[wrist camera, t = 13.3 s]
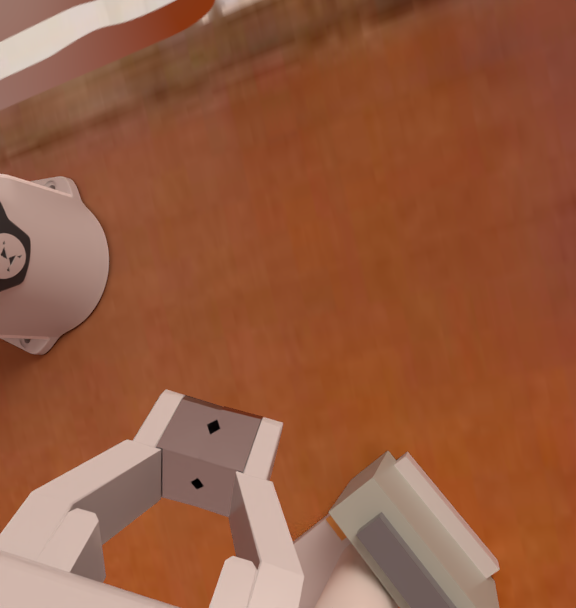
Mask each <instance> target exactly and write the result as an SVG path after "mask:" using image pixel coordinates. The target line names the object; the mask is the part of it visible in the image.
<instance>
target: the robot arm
mask: <svg viewBox="0 0 576 608" xmlns="http://www.w3.org/2000/svg"><path fill="white" fill-rule="evenodd" d="M108 270H109V252H108V245H107V241H106V237H105V234H104V231H103V229H102V227H101V225H100V223H99V222H98V220H97V219H96V217H95V216H94V215H93V214H92V213H91V212H90V210H89V209H88V208H87V207H86V206H85V205H84V204H83V202H82V201H81V198H80V195H79V192H78V189H77V187H76V185H75V183H74V181H73V180H72V179H70V178H66V177H62V176H59V177H53V178H47V179H41V180H35V181H26V180H23V179H19V178H16V177H13V176H10V175H5V174H0V338H1V339H3V340H5V341H7V342H9V343H11V344H13V345H15V346H17V347H19V348H21V349H23V350H25V351H27V352H29V353H31V354H36V355H43V354H45V353H47V352H48V351H49V350H50V349H51V347H52V346H53V345H54V344H55V342H56V341H57V340H58V338H59V337H60V336H61V335H63V334H64V333H66V332H67V331H69V330H71V329H73V328H75V327H76V326H78V325H79V324H80V323H82V322H83V321H84V320H85V319H86V318H87V317H88V316H89V315H90V314H91V312H92V311H93V310H94V308H95V307H96V305H97V304H98V302H99V300H100V298H101V296H102V293H103V291H104V288H105V285H106V281H107V276H108ZM30 339H31V340H30ZM282 428H283V423H282V422H279V421H275V420H272V419H268V418H265V417H262V416H259V415H255V414H251V413H247V412H244V411H240V410H236V409H233V408H229V407H225V406H224V407H222V406H219V405H216V404H213V403H209V402H206V401H203V400H200V399H197V398H193V397H190V396H187V395H183V394H180V393H176V392H173V391H170V390H165V391H164V392H163V393H162V394H161V395H160V397H159V398H158V400H157V401H156V403H155V405H154V406H153V408H152V410H151V411H150V413H149V415H148V416H147V418H146V420H145V421H144V423H143V425H142V426H141V428H140V430H139V431H138V433H137V435H136V436H135V438H134V439H133V441H131V440H128V439H127V440H125V441H123V442H121V443H119V444H117V445H116V446H114V447H112V448H110V449H108V450H107V451H105V452H103V453H101V454H99V455H97V456H96V457H94V458H92V459H90V460H88V461H87V462H85V463H83V464H81V465H79V466H78V467H76V468H74V469H72V470H70V471H68V472H67V473H65V474H63V475H61V476H59V477H58V478H56V479H54V480H52V481H50V482H48V483H47V484H45V485H43V486H41V487H39V488H38V489H36V490H34V491H32V492H31V493H30V495H29V496H28V497H27V499H26V500H25V501H24V503H23V504H22V506H21V507H20V508H19V510H18V511H17V512H16V514H15V515H14V516H13V518H12V519H11V520H10V522H9V523H8V524H7V526H6V527H5V528H4V530H3V531H2V532H1V534H0V608H180V607H177V606H173V605H170V604H167V603H164V602H161V601H158V600H155V599H152V598H149V597H145V596H142V595H139V594H136V593H133V592H130V591H127V590H124V589H120V588H117V587H114V586H111V585H108V584H105V583H103V581H104V579H105V577H106V574H105V566H104V558H103V551H102V545H103V544H104V543H105V542H107V541H108V540H109V539H111V538H112V537H113V536H114V535H116V534H117V533H118V532H120V531H121V530H122V529H123V528H125V527H126V526H127V525H128V524H130V523H131V522H132V521H134V520H135V519H136V518H137V517H139V516H140V515H141V514H143V513H144V512H145V511H146V510H148V509H149V508H150V507H152V506H153V505H154V504H155V503H157V502H158V501H159V500H160V499H161V497H163V498H167V499H171V500H175V501H178V502H182V503H186V504H189V505H193V506H196V507H199V508H202V509H206V510H209V511H212V512H215V513H218V514H221V515H224V516H227V517H229V523H230V528H231V533H232V538H233V543H234V548H235V553H236V557H235V556H232V557H230V558H228V559H227V560H225V563H224V566H223V569H222V571H221V574H220V577H219V580H218V583H217V586H216V589H215V592H214V595H213V598H212V601H211V604H210V606H209V608H298V607H299V602H300V596H301V591H302V585H303V580H304V574H303V571H302V568H301V565H300V562H299V559H298V556H297V553H296V550H295V547H294V544H293V541H292V538H291V535H290V532H289V530H288V527H287V524H286V521H285V518H284V515H283V512H282V509H281V506H280V503H279V500H278V497H277V494H276V491H275V488H274V485H273V482H271V481H270V477H271V474H272V470H273V466H274V462H275V458H276V453H277V449H278V445H279V441H280V436H281V432H282Z"/></svg>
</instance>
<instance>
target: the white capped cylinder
mask: <svg viewBox="0 0 576 608" xmlns="http://www.w3.org/2000/svg"><path fill="white" fill-rule="evenodd" d="M314 608H398V605H397V603H396V602H395V601H394V599H393V598H392V597H391V595H390V594H389V593H388V591H387V590H386V589H385V587H384V586H383V585H382V583H381V582H380V581H379V579H378V578H377V577H376V575H375V574H374V573H373V571H372V570H371V569H370V567H369V566H368V565H367V563H366V562H365V561H364V559H363V558H362V557H361V555H360V554H359V553H358V551H357V550H356V549H355V547H354V546H353V545H352V543H350V544H349V545H348V546H347V547H346V548H345V549H344V551H343V552H342V554H341V556H340V558H339V560H338V562H337V564H336V566H335V568H334V570H333V572H332V574H331V576H330V578H329V580H328V582H327V584H326V586H325V588H324V590H323V592H322V594H321V596H320V598H319V600H318V602H317V603H316V605H315V607H314Z"/></svg>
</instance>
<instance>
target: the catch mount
mask: <svg viewBox="0 0 576 608" xmlns="http://www.w3.org/2000/svg"><path fill="white" fill-rule="evenodd" d="M350 543H352V545H353V546H354V547H355V549H356V550H357V551H358V553H359V554H360V555H361V557H362V558H363V559H364V561H365V562H366V563H367V565H368V566H369V567H370V569H371V570H372V571H373V573H374V574H375V575H376V577H377V578H378V579H379V581H380V582H381V583H382V585H383V586H384V587H385V589H386V590H387V591H388V593H389V594H390V595H391V597H392V598H393V599H394V601H395V602H396V603H397V605H398V608H499V603H498V597H497V592H496V586H495V581H494V580H493V578H492V577H491V575H492V574H494V573H495V572H497V571H498V570H500V569H499V564H498V560H497V559H496V558H495V556H494V555H493V554H492V553H491V552H490V550H489V549H488V548H487V547H486V546H485V544H484V543H483V542H482V541H481V540H480V538H479V537H478V536H477V535H476V534H475V532H474V531H473V530H472V529H471V528H470V526H469V525H468V524H467V523H466V521H465V520H464V519H463V518H462V517H461V515H460V514H459V513H458V512H457V511H456V509H455V508H454V507H453V506H452V505H451V503H450V502H449V501H448V500H447V499H446V497H445V496H444V495H443V494H442V493H441V491H440V490H439V489H438V488H437V486H436V485H435V484H434V483H433V482H432V480H431V479H430V478H429V477H428V476H427V474H426V473H425V472H424V471H423V470H422V468H421V467H420V466H419V465H418V464H417V462H416V461H415V460H414V459H413V458H412V456H411V455H410V454H409V453H408V452H406V453H405V454H404V455H403V456H401V457H400V458H399V459H397V460H395V458H394V457H393V456H392V455H391V454H390V452H389V451H387V452H385V453H384V454H383V455H382V456H380V457H379V458H378V459H377V460H375V461H374V462H373V463H372V464H370V465H369V466H368V467H366V468H365V469H364V470H363V471H361V472H360V473H359V474H358V475H356V476H355V477H354V478H353V479H351V481H350V482H349V484H348V485H347V487H346V488H345V489H344V491H343V492H342V494H341V495H340V496H339V498H338V499H337V501H336V502H335V504H334V505H333V506H332V508H331V509H330V511H329V514H328V515H327V516H325V517H324V518H323V519H321V520H320V521H319V522H318V523H316V524H315V525H314V526H313V527H311V528H310V529H309V530H308V531H306V532H305V533H304V534H302V535H301V536H300V537H299V538H297V539H296V540H295V541H294V542H293V544H294V547H295V550H296V553H297V556H298V559H299V562H300V565H301V568H302V571H303V574H304V580H303V585H302V591H301V596H300V602H299V607H298V608H314V607H315V605H316V603H317V602H318V600H319V598H320V596H321V594H322V592H323V590H324V588H325V586H326V584H327V582H328V580H329V578H330V576H331V574H332V572H333V570H334V568H335V566H336V564H337V562H338V560H339V558H340V556H341V554H342V552H343V551H344V549H345V548H346V547H347V546H348V545H349V544H350Z"/></svg>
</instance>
